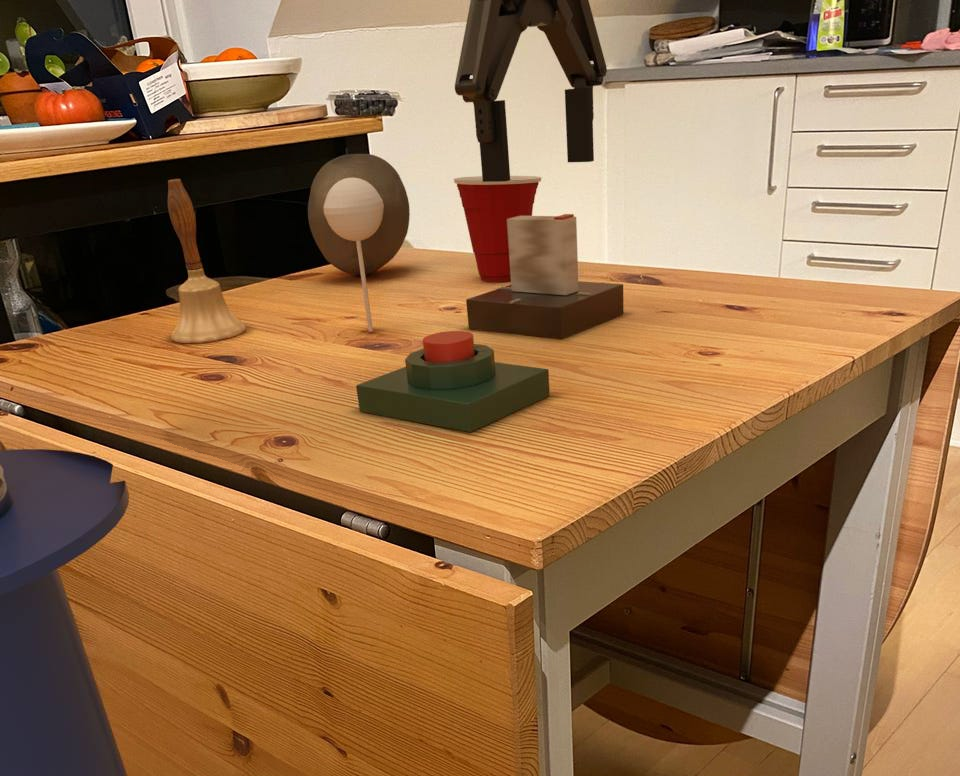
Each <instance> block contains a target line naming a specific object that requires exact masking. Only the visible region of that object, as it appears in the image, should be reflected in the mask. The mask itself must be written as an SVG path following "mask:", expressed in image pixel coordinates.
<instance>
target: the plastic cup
mask: <svg viewBox="0 0 960 776" xmlns="http://www.w3.org/2000/svg"><path fill="white" fill-rule="evenodd" d="M542 178H543V177H542V176H535V175H510V181H504V182H483V179H482V175H478V176H477V175H476V176H462V177H455V178H453V182H454V184H456V187H457V190H458V193H459V198H460V200H461V206H462V208H463V211H464V217H465V221H466V226H467V230H468V235H469V240H470V243H471V248H472V252H473V254H474V258H475V261H476V262H475V263H476V266H477V272H478V275H479V278H480V280H481V281H482V282H491V283H493V282H494V283H495V282H496V283H497V282H498V283H499V282H509V281H510V282H511V275H510V260H509V244H508V229H507V219H509V218H513V217H517V216H533V210H534V204H535V199H536V195H537V190H538V186H539V183H540V182H542Z"/></svg>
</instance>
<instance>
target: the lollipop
mask: <svg viewBox="0 0 960 776" xmlns="http://www.w3.org/2000/svg"><path fill="white" fill-rule="evenodd" d="M383 209H384V205H383V200H382V198H381V197H380V195H379V194H378V192H377V191H376V189H375V188H374V187H373V186H372V185H371V184H369V183H368V182H367V181H365V180H362V179H359V178H345V179H343V180H340V181H338V182H337V183H336V184H334V185H333V187H332V188H331V189H330V191H329V192H328V194H327V197H326V200H325V203H324V215H325V217H326V219H327V221H328V224H329V225H330V227H331V228H332V230H333V231H334V232H335V233H336V234H337V235H339V236H340V237H342V238H344V239H347V240H351V241H356V244H357V251H358V258H359V266H360V273H361V275H360V280H361V286H362V294H363V300H364V307H365V315H366V322H367V329H368V330H367V331H368V332H369V333H370V332H373V331H374V329H373V328H374V327H373V322H372V315H371V313H372V312H371V307H370V300H369V292H368V291H369V290H368V284H367V278H366V275H365V270H364V262H363V255H362V248H361V240H364V239H366V238H369V237H370V236H371V235H373V234H374V233H375V232H376V231H377V229H378V228H379V226H380V224H381V221H382V216H383Z"/></svg>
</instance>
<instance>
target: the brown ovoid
mask: <svg viewBox="0 0 960 776" xmlns="http://www.w3.org/2000/svg"><path fill="white" fill-rule="evenodd" d="M345 178H359V179H362V180H365V181H367V182H368V183H369V184H371V185H372V186H373V187H374V188H375V189H376V191H377V192H378V194H379V195H380V197H381V198H382V200H383V205H384V209H383V216H382V221H381V224H380V226H379V228H378V229H377V231H376V232H375V233H374V234H373V235H371V236H370V237H369V238H366V239H364V240H361V248H362V255H363V262H364V270H365V276H366V275H370V274H373V273H375V272H377V271H378V270H380V269H381V268H383V267H384V266H385V265H387V264H388V263H389V262H391V261H392V260H393V259H394V258H395V257H396V256H397V254H398V252H399V251H400V249H401V248H402V246H403V244H404V242H405V240H406V237H407V236H408V231H409V225H410V218H411V217H410V213H411V212H410V210H411V209H410V201H409V196H408V194H407V189H406V187H405V185H404V183H403V180H402V178H401V175H399V173H398V171H397V170H396V169H395V168H394V166H393V165H391V164H390V163H389V162H388V161H386V160H385V159H384V158H382V157H380V156H377V155H374V154H370V153H350V154H342V155H339V156H337V157H336V158H333V159H331V160H329V161H327V162H326V163H325V164H324V165H322V167H320V169H319V170H318V172H316V174H315V177H314V178H313V180H312V183H311V186H310V192H309V197H308V203H307V218H308V224H309V229H310V232H311V235H312V237H313V240H314V241H315V244H316V246H317V247H318V249H319V251H320V252H321V254H322V256H323V257H324V259H325V260H326V261H327V262H328V263H330V264H331V265H332V266H333V267H334V268H336V269H337V270H338V271H340V272H342V273H344V274H348V275H351V276H361V273H360V266H359V258H358V251H357V244H356V241H351V240H347V239H344V238H342V237H340V236H339V235H337V234H336V233H335V232H334V231H333V230H332V228H331V227H330V225H329V224H328V221H327V219H326V217H325V215H324V203H325V200H326V197H327V194H328V192H329V191H330V189H331V188H332V187H333V185H334V184H336V183H337V182H338V181H340V180H343V179H345Z"/></svg>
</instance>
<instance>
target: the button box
mask: <svg viewBox="0 0 960 776" xmlns="http://www.w3.org/2000/svg"><path fill="white" fill-rule="evenodd" d="M474 352H475V356H474V357H471V358H469V359H465V360H460V361H454V362H438V363H435V362H428V361H425V358H424V349H423V348H421V349H418V350H416V351H413V352H410V353H409V354H408V355H407V356H406V357H405V358H404V362H405V366H403V367H401V368H398V369H396V370H393V371H390V372H387V373H385V374H381V375H380V376H376V377H374V378H371V379H369V380H366V381H363V382H360V383H358V384H356V385H355V388H356V396H357V401H358V403H357V404H358V407H359V409H358V410H359V412H362V413H367V414H373V415H377V416H383V417H387V418H393V419H399V420H403V421H409V422H414V423H419V424H425V425H430V426H435V427H440V428H446V429H449V430H450V429H452V430H456V431H461V432H466V433H472V432H475V431H477V430H479V429H481V428H483V427H485V426H487V425H489V424H492V423H494V422H496V421H498V420H500V419H503V418H504V417H505V418H506V417H507V416H509V415H511V414H513V413H516V412H517V411H520V410H522V409H524V408H526V407H528V406H531V405H533V404H535V403H537V402H540V401H541V400H543V399H546V398H549V397H550V396H551V395H550V394H551V392H550V375H549V374H550V373H549V369H548V368H543V367H535V366H527V365H521V364H513V363H505V362H497V361H496V360H495V350H494V349H493V348H491V347H490V346H488V345H486V344H480V343H474Z"/></svg>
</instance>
